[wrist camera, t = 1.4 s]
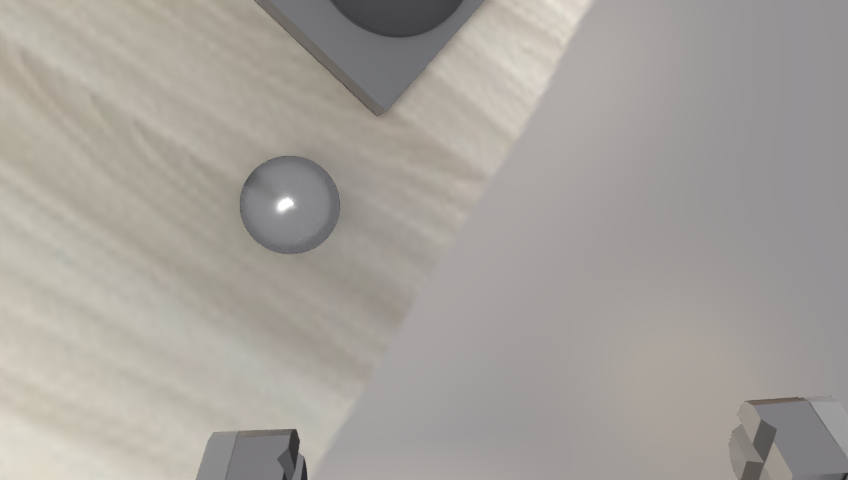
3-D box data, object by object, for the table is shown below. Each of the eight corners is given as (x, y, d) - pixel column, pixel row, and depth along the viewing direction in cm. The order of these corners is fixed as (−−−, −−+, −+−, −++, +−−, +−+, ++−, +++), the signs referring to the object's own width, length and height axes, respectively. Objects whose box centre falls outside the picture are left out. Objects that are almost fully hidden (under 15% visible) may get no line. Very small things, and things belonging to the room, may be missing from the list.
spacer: (225, 203, 42) (218, 209, 33) (277, 146, 43) (285, 135, 33) (285, 253, 43) (295, 273, 34) (334, 197, 44) (359, 201, 34)
